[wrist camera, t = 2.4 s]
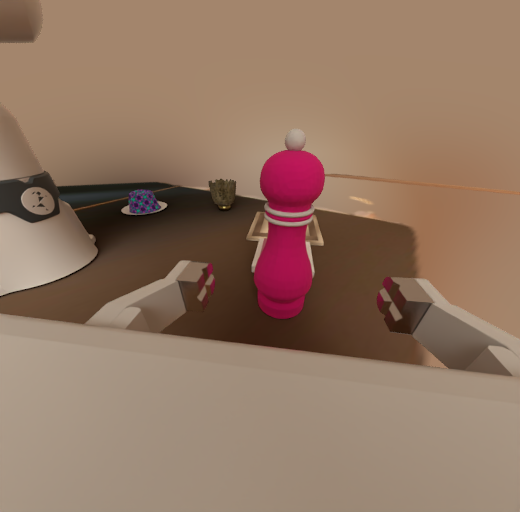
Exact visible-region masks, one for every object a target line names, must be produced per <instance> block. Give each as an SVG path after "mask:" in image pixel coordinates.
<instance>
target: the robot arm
mask: <svg viewBox="0 0 520 512" xmlns="http://www.w3.org/2000/svg"><path fill="white" fill-rule="evenodd" d="M41 28H42V8H41V3H40V0H0V43H33V42H35V41H36V39H37V38H38V36H39V34H40V31H41ZM59 195H60V193H59V191H58V189H57V187H56V184H55V182H54V180H52V178H51V177H50V175H49V173H48V172H46V171H43V169H42V167H41V165H40V163H39V161H38V159H37V157H36V156H35V154H34V152H33V150H32V148H31V146H30V144H29V142H28V141H27V139H26V137H25V135H24V133H23V131H22V129H21V127H20V125H19V124H18V122H17V120H16V118H15V117H14V115H13V114H12V113H11V112H10V111H9V110H8V109H7V108H6V107H5V106H4V105H3V104H1V103H0V296H2V295H5V294H7V293H11V292H15V291H19V290H23V289H28V288H32V287H36V286H39V285H43V284H46V283H49V282H52V281H55V280H57V279H60V278H62V277H65V276H67V275H69V274H71V273H73V272H75V271H77V270H79V269H80V268H82V267H84V266H85V265H87V264H88V263H89V262H91V261H92V260H93V259H94V258H95V256H96V255H97V253H98V249H97V247H96V246H95V245H94V243H95V241H96V239H95V237H94V236H93V235H91V234H88V233H87V231H86V230H85V228H84V227H83V225H82V224H81V222H80V220H79V219H78V217H77V216H76V214H75V213H74V211H73V210H72V208H71V207H70V205H69V204H67V203H66V202H63V201H61V200H60V199H59ZM212 271H213V266H212V264H211V263H206V262H196V261H184V260H182V261H180V262H179V263H178V264H177V265H176V266H175V267H174V269H173V270H172V271H171V272H170V273H169V274H168V275H167V276H166V278H165V279H160V280H158V281H156V282H153V283H151V284H149V285H147V286H145V287H142V288H140V289H138V290H136V291H133V292H131V293H129V294H127V295H124V296H122V297H120V298H118V299H116V300H113V301H111V302H109V303H107V304H106V305H105V306H104V307H103V308H101V309H100V310H99V311H98V312H97V313H96V314H95V315H94V316H93V317H92V318H91V319H89V320H88V321H87V322H86V323H85V324H78V323H70V322H62V321H54V320H46V319H37V318H29V317H21V316H13V315H6V314H0V512H520V339H518V338H516V337H514V336H512V335H510V334H508V333H506V332H505V331H503V330H501V329H499V328H497V327H495V326H493V325H491V324H489V323H488V322H486V321H484V320H482V319H480V318H478V317H476V316H474V315H472V314H471V313H469V312H467V311H465V310H463V309H461V308H459V307H457V306H455V305H450V304H449V302H448V301H447V300H446V299H445V298H444V297H443V296H442V295H441V294H440V293H439V292H438V291H437V290H436V289H435V288H434V287H433V286H432V284H431V283H430V282H429V281H428V280H426V279H420V278H398V277H386V278H385V279H384V281H383V283H382V284H383V286H384V288H383V289H382V290H380V291H379V293H378V296H377V305H378V308H379V310H380V312H381V313H383V314H384V315H385V318H384V321H385V323H386V324H387V326H388V328H389V330H390V332H394V333H402V334H410V335H412V336H413V337H414V338H415V339H416V340H417V341H418V342H419V343H421V344H422V345H423V346H424V347H425V348H426V349H427V350H428V351H430V352H431V353H432V354H433V355H434V356H435V357H436V358H438V359H439V360H440V361H441V362H442V363H443V364H444V365H445V366H446V367H448V368H449V369H447V368H439V367H430V366H422V365H414V364H406V363H397V362H389V361H381V360H373V359H365V358H357V357H349V356H341V355H333V354H324V353H316V352H308V351H300V350H291V349H283V348H275V347H267V346H259V345H250V344H242V343H234V342H226V341H218V340H209V339H201V338H193V337H185V336H177V335H168V334H160V333H159V332H160V331H162V330H163V329H164V328H166V327H167V326H168V325H170V324H171V323H172V322H173V321H175V320H176V319H177V318H179V317H180V316H181V315H183V314H184V313H185V312H186V311H196V312H204V310H205V308H206V306H207V304H208V297H210V296H212V294H213V291H214V287H215V279H214V276H213V275H212V274H211V273H212Z"/></svg>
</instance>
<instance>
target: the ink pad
mask: <svg viewBox="0 0 520 512" xmlns="http://www.w3.org/2000/svg"><path fill="white" fill-rule="evenodd" d="M266 241H267V238H264V239H263V238H260V239H259V243H258V246H257V250H256V253H255V257H254V260H253V263H252V272H254V271H255V267H256V263H257V261H258V258H259V257H260V255H261V253H262V251H263V249H264V247H265V244H266ZM306 249H307V254H308V257H309V260H310V263H311V267H312V278H313V277H314V266H313V260H312V254H311V248H310V242H306Z"/></svg>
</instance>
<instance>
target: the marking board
mask: <svg viewBox="0 0 520 512" xmlns="http://www.w3.org/2000/svg"><path fill="white" fill-rule="evenodd" d="M264 214H265V212H257V214H256V216H255V218H254V221H253V223H252V226H251V228H250V230H249V233H248V235H247V238H246V239H247V240H251V241H259V239H260V238H263V239H264V238H267V236H268V221H267V220H266V219H265V217H264ZM312 216H313V220H312V221H311V222H310V223H309V224H308V225H307V230H306V240H305V242H310V245H319V246H323V244H324V243H323V239H322V236H321V232H320V229H319V225H318V222H317V218H316V215H312Z"/></svg>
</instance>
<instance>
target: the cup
mask: <svg viewBox="0 0 520 512" xmlns="http://www.w3.org/2000/svg"><path fill="white" fill-rule="evenodd" d="M209 187H210V191H211V195H212V199H213V201H214V202H215V203H216V204H217V205H218V208H219V210H221V211H228V210H230V208H231V206H230V204H232V203H233V202H234V199H235V191H236V181H234V180H232V181H231V180H230V181H229V182H228V180H226V181H224V180H222V179H220V180H215V183H212V181H211V182H210V181H209Z"/></svg>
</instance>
